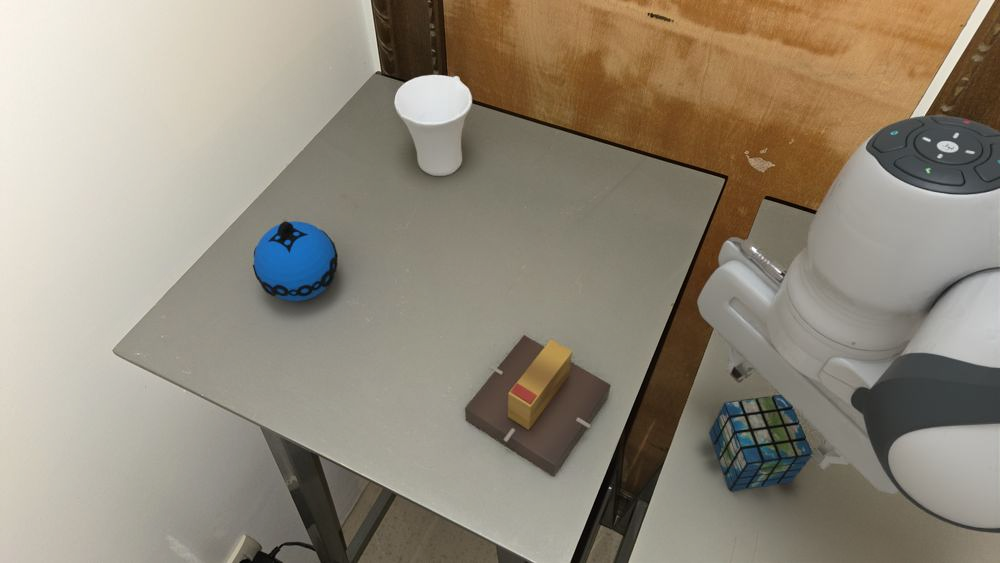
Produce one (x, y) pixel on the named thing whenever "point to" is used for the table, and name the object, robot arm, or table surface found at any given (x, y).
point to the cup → (435, 120)
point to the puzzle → (759, 442)
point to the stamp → (539, 384)
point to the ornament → (295, 261)
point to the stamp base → (556, 422)
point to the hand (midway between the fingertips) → (778, 414)
